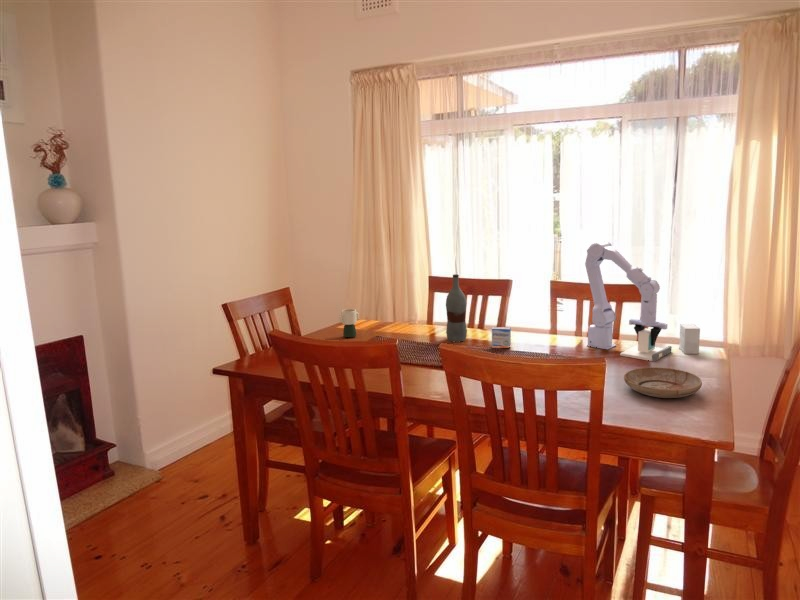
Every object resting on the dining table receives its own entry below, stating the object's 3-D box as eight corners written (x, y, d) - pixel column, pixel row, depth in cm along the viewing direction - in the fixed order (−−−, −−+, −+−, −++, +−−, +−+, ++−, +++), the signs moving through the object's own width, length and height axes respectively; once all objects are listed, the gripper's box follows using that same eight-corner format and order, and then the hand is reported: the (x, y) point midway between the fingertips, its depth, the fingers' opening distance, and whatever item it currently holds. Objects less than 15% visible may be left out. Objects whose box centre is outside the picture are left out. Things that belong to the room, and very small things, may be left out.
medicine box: (491, 348, 257) (491, 328, 256) (492, 345, 261) (492, 326, 260) (510, 349, 255) (510, 329, 254) (510, 346, 259) (510, 326, 258)
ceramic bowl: (624, 378, 214) (625, 364, 213) (698, 383, 205) (698, 369, 204) (622, 400, 193) (623, 385, 192) (704, 407, 184) (705, 392, 183)
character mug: (355, 333, 291) (354, 307, 289) (363, 336, 286) (362, 309, 283) (336, 337, 285) (334, 310, 282) (344, 340, 279) (342, 313, 277)
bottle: (444, 342, 270) (442, 276, 264) (449, 337, 279) (447, 273, 273) (464, 343, 267) (463, 276, 261) (468, 338, 276) (468, 273, 270)
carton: (637, 351, 240) (638, 331, 239) (644, 347, 245) (645, 328, 243) (648, 352, 237) (649, 333, 236) (655, 349, 242) (656, 329, 241)
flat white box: (620, 355, 240) (620, 349, 240) (638, 346, 252) (638, 341, 252) (654, 361, 231) (655, 355, 230) (671, 352, 243) (672, 346, 242)
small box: (698, 354, 239) (700, 328, 237) (683, 354, 240) (685, 328, 238) (693, 348, 246) (694, 323, 244) (678, 348, 247) (680, 323, 245)
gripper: (626, 310, 240) (625, 343, 243) (663, 315, 230) (661, 349, 233) (633, 307, 245) (632, 339, 248) (670, 311, 235) (668, 345, 238)
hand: (647, 344), depth 241 cm, fingers closed on carton, 4 cm apart
